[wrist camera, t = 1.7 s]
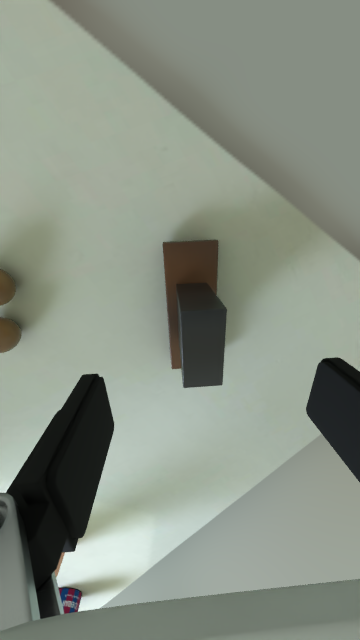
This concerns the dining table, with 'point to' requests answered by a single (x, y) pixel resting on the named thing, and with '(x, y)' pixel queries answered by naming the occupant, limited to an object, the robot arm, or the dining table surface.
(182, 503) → the dining table surface
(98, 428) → the robot arm
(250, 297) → the dining table surface
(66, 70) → the dining table surface
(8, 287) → the crumb
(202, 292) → the brush
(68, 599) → the mug
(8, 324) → the crumb
